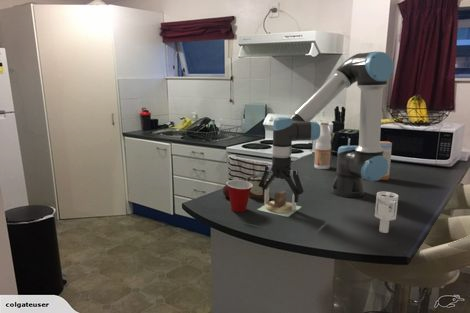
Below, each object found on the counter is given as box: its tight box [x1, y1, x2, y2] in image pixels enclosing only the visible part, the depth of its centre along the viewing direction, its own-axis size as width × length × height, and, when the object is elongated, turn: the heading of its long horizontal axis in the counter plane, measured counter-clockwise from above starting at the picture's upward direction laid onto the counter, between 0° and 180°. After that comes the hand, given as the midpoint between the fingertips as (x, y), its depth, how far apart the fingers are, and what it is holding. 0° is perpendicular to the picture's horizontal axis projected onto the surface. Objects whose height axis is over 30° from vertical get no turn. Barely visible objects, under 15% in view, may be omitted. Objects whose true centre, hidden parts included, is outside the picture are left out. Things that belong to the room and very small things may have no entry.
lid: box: [266, 190, 293, 213], centre depth 151 cm, size 12×12×7 cm
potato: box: [222, 184, 230, 199], centre depth 166 cm, size 7×10×6 cm
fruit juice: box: [313, 122, 332, 170], centre depth 223 cm, size 9×9×28 cm
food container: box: [245, 174, 274, 200], centre depth 166 cm, size 12×6×10 cm, turn 71°
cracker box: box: [362, 140, 393, 181], centre depth 200 cm, size 14×6×21 cm, turn 84°
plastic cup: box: [226, 179, 253, 213], centre depth 148 cm, size 11×11×12 cm
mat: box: [256, 204, 302, 218], centre depth 152 cm, size 14×14×1 cm
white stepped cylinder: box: [374, 191, 399, 234], centre depth 129 cm, size 7×7×15 cm
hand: (279, 206), depth 152 cm, fingers closed on lid, 12 cm apart
